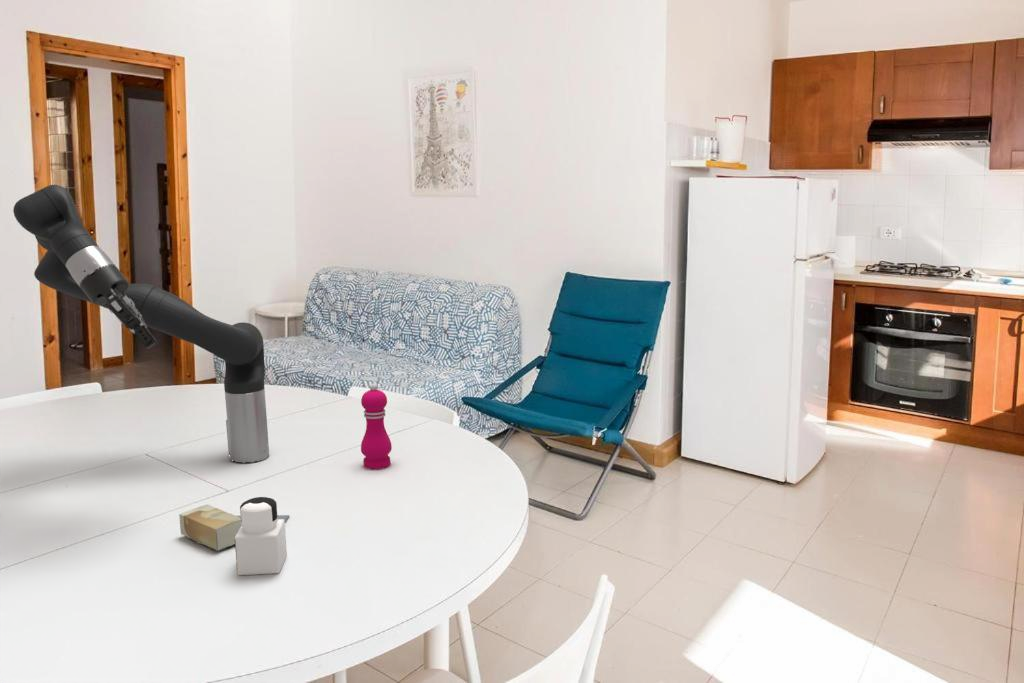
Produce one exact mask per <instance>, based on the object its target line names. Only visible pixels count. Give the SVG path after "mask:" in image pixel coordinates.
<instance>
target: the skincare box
mask: <svg viewBox="0 0 1024 683" xmlns="http://www.w3.org/2000/svg"><path fill="white" fill-rule="evenodd" d="M238 516H239V515H234V514H232V513H230V512H227V511H225V510H223V509H220V508H217V507H215V506H213V505H210V504H203V505H200V506H198V507H194V508H193V509H190V510H187V511H184V512H181V513H179V527H180V528H179V529H180V534H181V536H184V537H186V538H189V539H191V540H193V541H195V542H196V543H197V542H199V543H198V544H203V545H204V546H206V547H209V548H211V549H213V550H216V551H220V550H223V549H226V548H228V547H230V546H231V547H232V546H233V545H234V546H235V536H236V534H237V533H238V531H239V529H240V528H241V526H242V525H241V518H240V517H238Z"/></svg>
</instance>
